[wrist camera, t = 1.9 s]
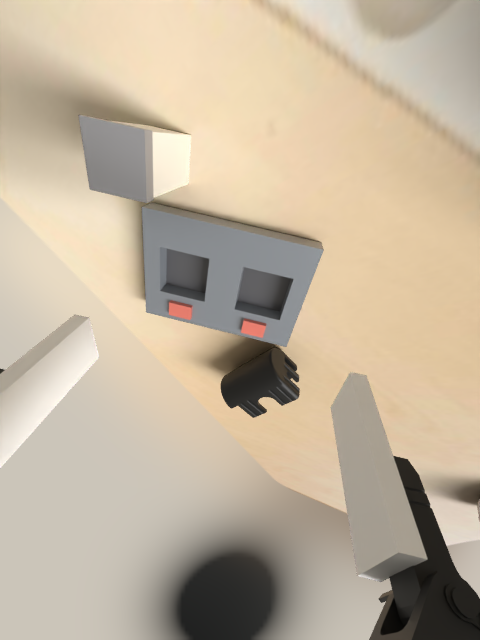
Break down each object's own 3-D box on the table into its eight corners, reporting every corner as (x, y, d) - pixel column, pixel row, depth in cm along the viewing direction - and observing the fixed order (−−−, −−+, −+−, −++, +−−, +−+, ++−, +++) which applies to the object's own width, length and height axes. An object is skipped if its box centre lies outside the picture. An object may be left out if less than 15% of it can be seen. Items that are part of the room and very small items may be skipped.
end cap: (271, 336, 38) (268, 369, 32) (300, 365, 40) (302, 400, 35) (225, 364, 43) (215, 397, 37) (253, 389, 45) (248, 423, 40)
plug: (147, 123, 26) (78, 114, 17) (192, 134, 25) (144, 129, 17) (149, 175, 28) (89, 189, 20) (189, 185, 28) (146, 202, 20)
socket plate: (151, 202, 30) (139, 208, 27) (321, 242, 29) (324, 251, 27) (153, 303, 38) (144, 314, 35) (286, 335, 37) (286, 349, 35)
